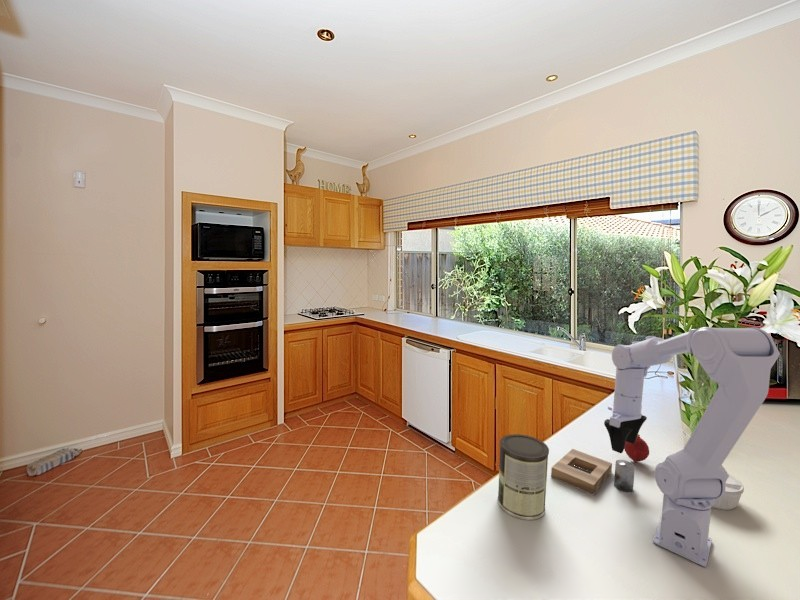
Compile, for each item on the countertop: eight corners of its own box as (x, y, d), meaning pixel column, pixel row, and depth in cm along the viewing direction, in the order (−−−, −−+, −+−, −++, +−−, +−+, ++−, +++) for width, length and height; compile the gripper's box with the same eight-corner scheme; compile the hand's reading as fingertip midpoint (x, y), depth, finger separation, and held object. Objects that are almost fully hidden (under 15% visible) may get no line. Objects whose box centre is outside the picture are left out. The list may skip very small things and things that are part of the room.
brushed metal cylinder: (630, 494, 84) (632, 470, 83) (611, 486, 87) (613, 463, 86) (635, 487, 86) (636, 464, 86) (616, 480, 89) (618, 457, 89)
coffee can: (488, 495, 82) (490, 437, 81) (523, 486, 86) (526, 431, 85) (517, 525, 73) (521, 460, 72) (556, 514, 76) (559, 452, 75)
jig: (593, 495, 83) (593, 485, 83) (551, 476, 90) (551, 467, 90) (611, 472, 93) (612, 463, 93) (572, 457, 100) (572, 448, 100)
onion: (652, 468, 95) (654, 440, 94) (628, 466, 96) (631, 438, 95) (642, 457, 101) (644, 430, 100) (619, 455, 102) (622, 428, 101)
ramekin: (718, 517, 76) (721, 494, 76) (667, 486, 87) (669, 466, 87) (754, 509, 79) (757, 487, 79) (700, 480, 90) (702, 460, 90)
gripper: (621, 383, 93) (617, 432, 95) (597, 395, 85) (593, 448, 86) (652, 391, 88) (648, 442, 89) (630, 404, 79) (625, 461, 80)
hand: (623, 446), depth 87 cm, fingers open, 7 cm apart
